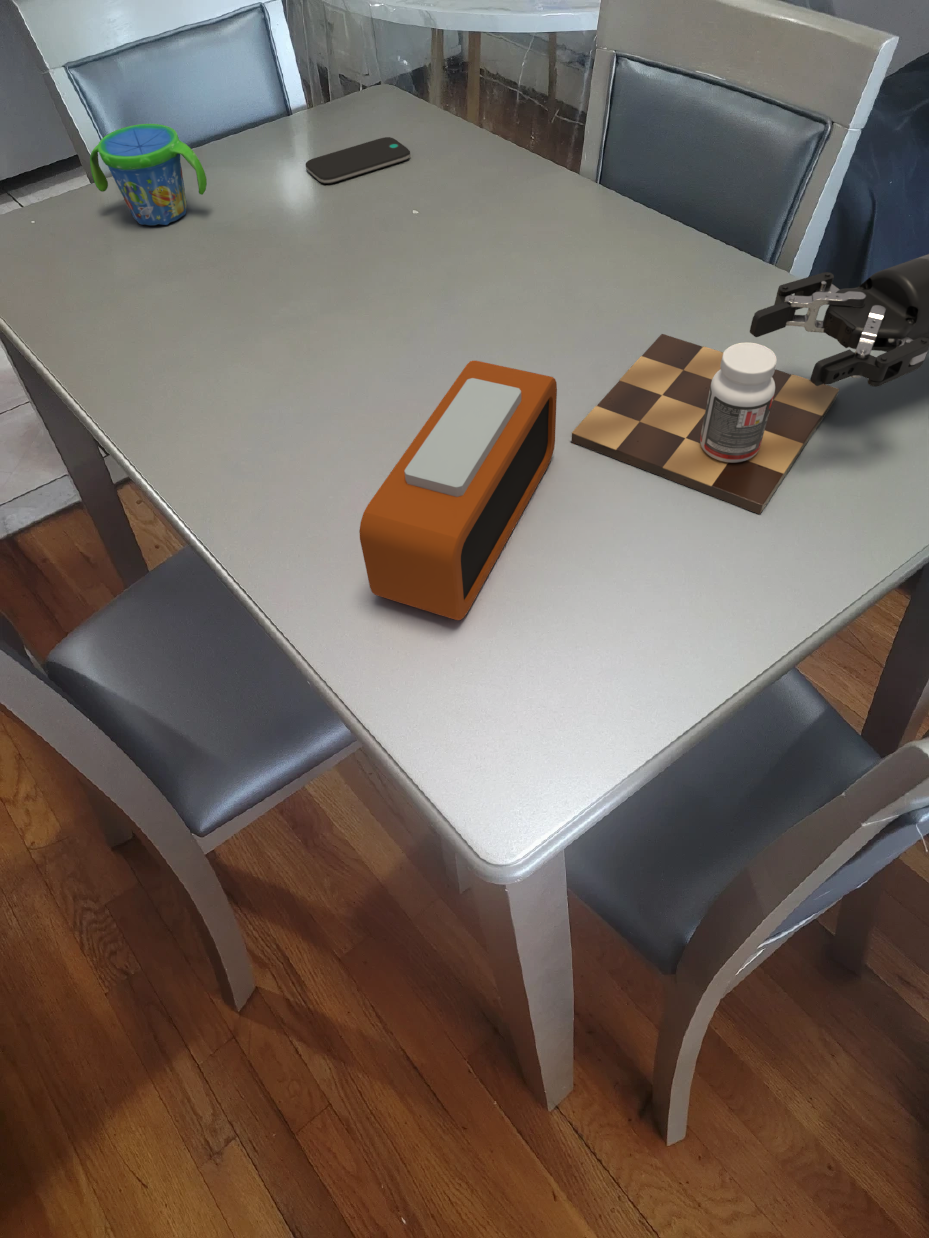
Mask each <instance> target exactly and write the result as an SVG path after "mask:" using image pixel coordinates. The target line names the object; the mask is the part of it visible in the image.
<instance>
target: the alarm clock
mask: <svg viewBox="0 0 929 1238" xmlns="http://www.w3.org/2000/svg"><path fill="white" fill-rule="evenodd" d="M557 385H558V383H557V379H556V378H554V376H552V375H551V376H550V375H546V374H541V373H537V372H532V371H528V370H527V371H526V370H523V369H516V368H513V367H508V366H504V365H499V364H493V363H489V362H484V361H481V360H470V361H469V362H468V363H466V364H465V366H464V368H463V369H462V371H461V372H460V374H459V375H458V376H457V378H456V379H455V381H454V382H453V383H452V385H450V388H449V389H448V391H447V392H446V393H445V394H444V396H443V397H442V399H441V400H440V402H439V403H438V405H437V406H436V407H435V409H434V410H433V411H432V413H431V414H430V416H429V417H428V418H427V420H426V421H425V423H424V424H423V426H422V427H421V428H420V430H419V431H418V433H417V434H416V436H415V437H414V439H413V440H412V441H411V443H410V444H409V446H408V447H407V449H406V450H405V451H404V452H403V454H402V455H401V457H400V458H399V460H398V461H397V462H396V463H395V466H394V467H393V468H392V470H391V471H390V472H389V474H388V475H387V477H386V478H385V480H384V481H383V483H382V484H381V485H380V487H379V488H378V489H377V491H376V493H375V494H374V495H373V497H372V498H371V500H370V501H369V502H368V504H367V505H366V508H365V509H364V511H363V513H362V517H361V520H360V523H359V532H358V533H359V542H360V546H361V547H360V548H361V552H362V557H363V560H364V561H363V562H364V566H365V570H366V576H367V579H368V580H367V581H368V585H369V588H370V591H371V593H372V594H373V595H375V596H377V597H380V598H384V599H388V600H389V601H393V602H396V603H400V604H403V605H406V606H410V607H413V608H415V609H419V610H423V611H424V612H425V611H426V612H428V613H432V614H436V615H439V616H442V617H445V618H448V619H452V620H455V621H461V620H462V619H464V618H465V617H466V615H467V614H468V612H469V611H470V609H471V608H472V606H473V603H474V602H475V600H476V598H477V596H478V594H479V593H480V591H481V589H482V587H483V585H484V584H485V581H486V580H487V578H488V576H489V574H490V573H491V571H492V569H493V567H494V565H495V564H496V561H497V560H498V558H499V557H500V554H501V553H502V551H503V549H504V547H505V545H506V543H507V542H508V540H509V538H510V537H511V534H512V532H513V531H514V529H515V527H516V525H517V524H518V521H519V520H520V518H521V516H522V514H523V513H524V510H525V509H526V507H527V506H528V504H529V502H530V500H531V498H532V496H533V494H534V492H535V491H536V488H538V485H539V483H540V481H541V480H542V478H543V476H544V474H545V472H546V471H547V469H548V467H549V465H550V463H551V461H552V458H553V455H554V451H555V444H556V425H557V424H556V423H557V402H558V401H557V399H558V389H557V388H558V386H557Z"/></svg>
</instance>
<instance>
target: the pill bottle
mask: <svg viewBox="0 0 929 1238" xmlns="http://www.w3.org/2000/svg"><path fill="white" fill-rule="evenodd" d="M777 362H778V359H777V356H776V353H775V352H774V351H773V350H772V349H771V348H769V347H767V346H765V345H764V344H760V343H756V342H738V343H735V344H732V345H730V346H728V347H727V348H726V349H724V351H723V356H722V360H721V365H720V368H721V369H720V370H719V371H718V372H717V373H716V374H715V375H714V377H713V379H712V382H711V385H710V391H709V396H708V401H707V406H706V411H705V416H704V421H703V426H702V431H701V436H700V443H701V446H702V448H703V450H704V451H705V452H706V453H707V454H708V455H709V456H711V457H713V458H714V459H717V460H720V461H723V462H730V463H736V462H742V461H746V460H748V459H750V458H752V457H753V456H754V455H756V453H757V452H758V451H759V448H760V446H761V442H762V438H763V434H764V431H765V427H766V423H767V419H768V416H769V412H770V408H771V405H772V401H773V397H774V393H775V382H774V380H773V378H772V376H773V374H774V372H775V369H776V367H777Z"/></svg>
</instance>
